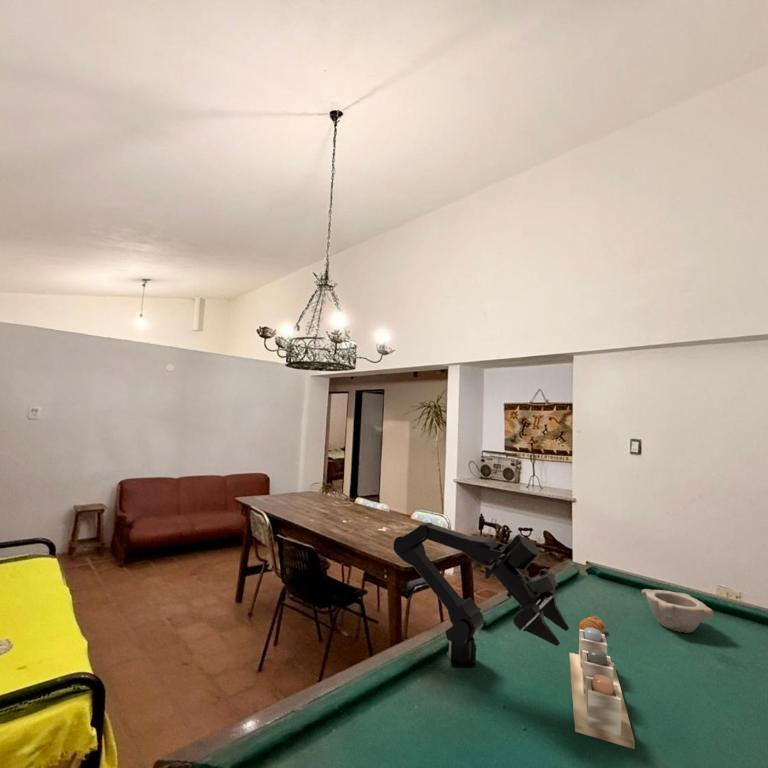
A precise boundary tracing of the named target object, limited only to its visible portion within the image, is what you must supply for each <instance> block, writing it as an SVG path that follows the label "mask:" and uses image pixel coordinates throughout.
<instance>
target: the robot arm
mask: <svg viewBox="0 0 768 768" xmlns="http://www.w3.org/2000/svg"><path fill="white" fill-rule="evenodd" d="M427 540H428V541H431V542H434V543H436V544H437V543H438V544H440V545H443V546H446V547H449V548H451V549H455V550H457V551H460V552H462V553H463V554H465V555H466V556H467V557H468V558H469V559H471V560H472V561H475V562H476V563H477V564H480V565H487V564H488V565H487V566H485V568H484V569H485V570H484V571H485V573H484V574H485V575H484V577H485V579H486V580H488V579H489V578H490V577H492V576H494V578H495V579H496V580H497V581H498V582H499V583H500V584H501V585H502V587H503V588H504V589H505V590H506V592H507V593H506V596H507V598H509V599H510V598H511V597H512V599H513V600H514V601H515V602H516V603H517V604H518V605H519V606H520V607H519V608H518V610H519V611H518V612H517V613H516V614H515V615H514V616H513V619H512V621H513V624H514V626H515V627H516V628H517V630H519V631H521V630H522V629H523V630H522V631H523V632H525V633H526V632H527V633H529V634H531V635H534V636H537V637H538V638H540V639H542V640H544V641H546V642H548V643H549V644H552V645H553V646H556V647H558V646H559V645H560V644H561V642H560V641H559V638H558V637H557V636H556V634H555V633H554V632H553V630H552V628H550V627H549V625H548V624H547V623H546V621H545V618H547V619H548V621H551V622H552V623H553V624H555V625H556V626H557V627H558V628H560V629H562V630H564V631H565V632H567V631H568V630H569V629H570V627H569V625H568V624H567V621H566V619H565V618H564V616H563V614H562V613H561V611H560V609H559V607H558V606H557V605H558V604H557V594H556V592H557V591H556V588H555V587H557V586H558V584H557V581H556V579H555V578H556V575H555V574H554V573H553V572H552V571H550V570H548V569H547V568H546V567H545V568H543V569H540V570H539V572H538V575H539V576H538V575H537V576H536V577H534V578H531V576H530V575H527V574H526V575H525V576H524V574H523V573H522V572H521V571H520V570H526V569H527V568H528V567H529V566H530V565H531V564H532V563H533V562H534V561H535V560H536V559H537V558H538V557H539V556H540V555H541V552H540V549H539V548H538V546H537V545H536V544H535V543H534V542H533V541H530V539H528V538H526V537H524V536H522V534H520V533H517V534H516V535H515V536H514V537H513V538H512V541H510V543H509V544H505V543H501V542H498V541H497V540H496V539H494V538H493V537H489V536H487V537H486V536H481V535H480V536H479V535H475V536H474V535H468V534H463V533H460V532H457V531H454V530H453V529H448V528H445V527H443V526H439V525H436V524H434V523H432V522H430V521H429V522H425V523H422V524H420V525H418V527H417V528H415V529H414V530H412V531H410V532H409V533H405V534H403V535H399V536H396V538H395V539H394V540H393V548H392V549H393V551H394V553H395V554H396V556H397V557H399V559H401V560H402V561H403V562H405V563H406V564H408V565H410V566H412V567H413V568H415V570H416V571H417V573H418V574H419V575H420V576H421V578H422V580H424V582H425V583H426V584H427V585H428V587H429V588H430V589H431V591H432V592H433V593H434V595H436V598H438V600H440V602H441V603H442V605H443V606H444V608H445V609H446V611H447V614H448V618H449V621H450V623H451V626H450V627H449V628H447V629H446V631H445V635H446V640H448V651H446V652H447V653H446V654H447V656H448V657H447V658H448V660H449V664H450V666H451V667H455V666H464V667H463V668H476V663H475V662H476V660H477V644H476V642H475V637H474V636H475V635H476V634H477V633H478V632H479V631H480V630H481V629H482V628H483V626H484V616H483V615H484V614H482V611H481V610H482V609H481V608H480V607H479V606H477V605H476V603H475V601H474V600H473V598H471V597H468V598H467V599H465V598H463V597H461V596H460V595H459V594H458V592H457V591H456V590H455V589H454V588H453V587H452V585H451V583H450V582H448V580H447V579H446V578H445V576H444V575H443V574H442V572H441V571H440V570H439V568H437V566H436V565H435V564H434V563H433V562H432V560H431V559H430V558H429V557H428V555H427V552H426V550H425V545H424V542H426V541H427ZM503 556H505V557H504V558H503V559H500V558H502V557H503ZM492 561H494V562H493V563H492V565H489V564H490V563H491V562H492ZM465 666H466V667H465Z"/></svg>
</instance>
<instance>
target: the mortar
mask: <svg viewBox="0 0 768 768" xmlns="http://www.w3.org/2000/svg"><path fill="white" fill-rule="evenodd" d="M641 594H642V597H643V599H644V600H645V601H646V602H647V603H648V606H649V607H650V610H651V611H652V614H653V616H654V617H655V619H656V621H657V622H658V623H659V625H661V626H662V627H664V628H666V629H668V630H671V631H674V632H677V631H678V633H682V632H684V634H689V633H693V632H694V631H695V630H696V629H697V628H698V627H699V626H700V624H701V623H702V622H703V621H707V620H708V621H709V620H710V619H712V618H713V617H714V611H713V609H712V608H710V607H709V606H707V605H706V604H705V603H703V601H700V600H698V599H697V598H695V597H692V596H691V595H690V594H688V593H684V592H675V591H671V590H665V589H664V590H662V589H650V588H649V589H648V588H644V589H641Z"/></svg>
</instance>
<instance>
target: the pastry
mask: <svg viewBox="0 0 768 768" xmlns="http://www.w3.org/2000/svg"><path fill="white" fill-rule="evenodd" d="M587 627H590V628H595V629H597V630H599V631H600V632H601V634H605V633H606V631H607V627H606V626H605V624H604V622H603V620H602V619H600V617H597V616H589V617H587V618H586V617H585V618H583V619H582V620H581V621H580V622H579V625H578V630H579V629H581V630H585V628H587Z"/></svg>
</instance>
